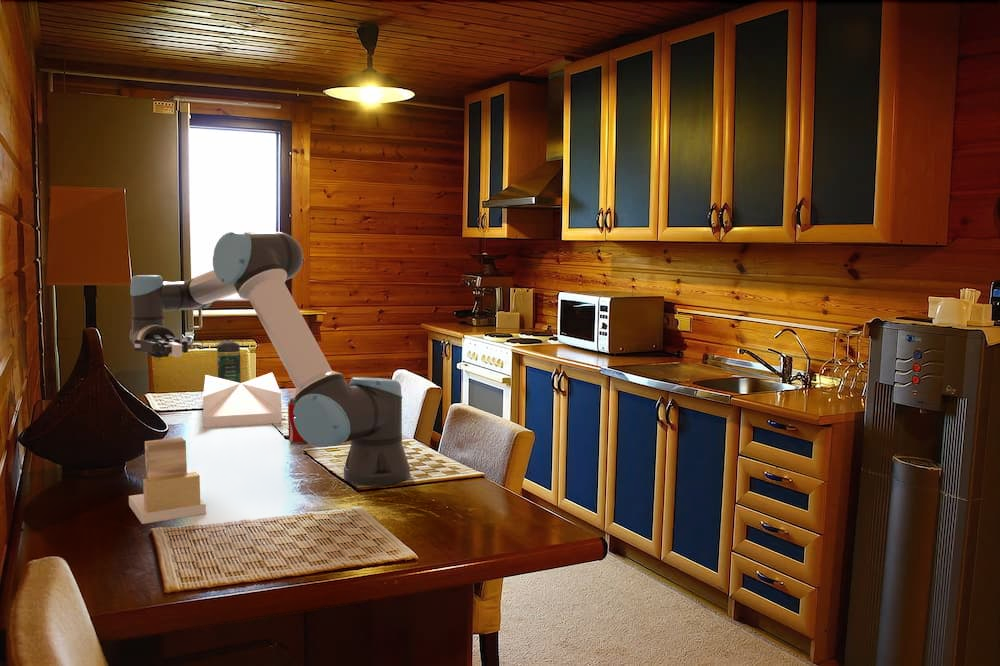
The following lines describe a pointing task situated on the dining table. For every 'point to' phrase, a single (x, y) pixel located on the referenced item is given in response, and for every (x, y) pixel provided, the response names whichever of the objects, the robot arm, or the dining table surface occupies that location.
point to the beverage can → (293, 425)
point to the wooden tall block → (165, 457)
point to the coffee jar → (229, 361)
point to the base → (138, 508)
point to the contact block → (171, 492)
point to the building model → (241, 401)
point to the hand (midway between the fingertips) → (178, 351)
